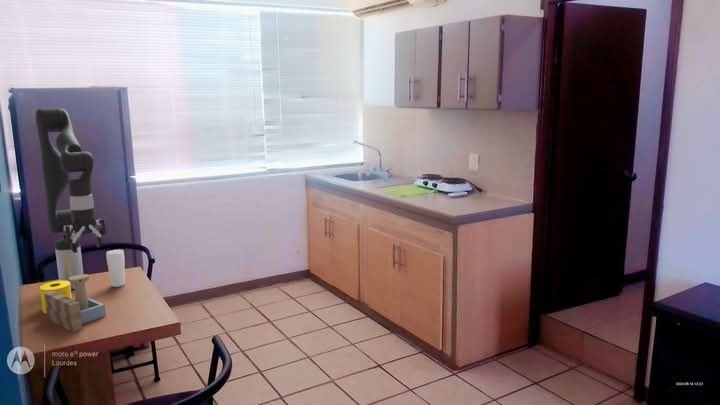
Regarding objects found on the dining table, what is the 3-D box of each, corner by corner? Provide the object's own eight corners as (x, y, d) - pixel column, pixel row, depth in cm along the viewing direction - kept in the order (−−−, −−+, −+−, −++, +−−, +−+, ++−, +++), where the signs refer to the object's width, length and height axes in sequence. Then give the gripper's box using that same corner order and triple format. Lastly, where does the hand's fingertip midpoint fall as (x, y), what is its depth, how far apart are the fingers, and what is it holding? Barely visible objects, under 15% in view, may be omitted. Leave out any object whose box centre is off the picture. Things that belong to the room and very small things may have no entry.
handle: (72, 315, 191) (67, 277, 188) (91, 311, 195) (87, 273, 192) (74, 320, 187) (70, 280, 184) (94, 315, 191) (90, 276, 188)
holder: (61, 320, 190) (59, 307, 189) (91, 310, 199) (89, 298, 198) (75, 327, 184) (74, 314, 183) (106, 317, 192) (104, 304, 191)
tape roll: (43, 315, 192) (39, 291, 191) (42, 306, 201) (39, 283, 199) (73, 310, 198) (70, 286, 196) (72, 301, 206) (69, 278, 204)
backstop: (47, 319, 189) (44, 293, 187) (56, 316, 192) (53, 290, 190) (73, 332, 178) (70, 305, 176) (82, 329, 181) (79, 302, 179)
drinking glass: (106, 286, 222) (102, 252, 219) (119, 281, 228) (116, 248, 225) (116, 289, 219) (113, 254, 216) (130, 284, 225) (127, 250, 222)
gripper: (96, 202, 197) (100, 243, 201) (56, 208, 186) (61, 252, 189) (106, 204, 193) (110, 246, 196) (66, 211, 182) (71, 256, 185)
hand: (86, 249), depth 193 cm, fingers open, 8 cm apart
